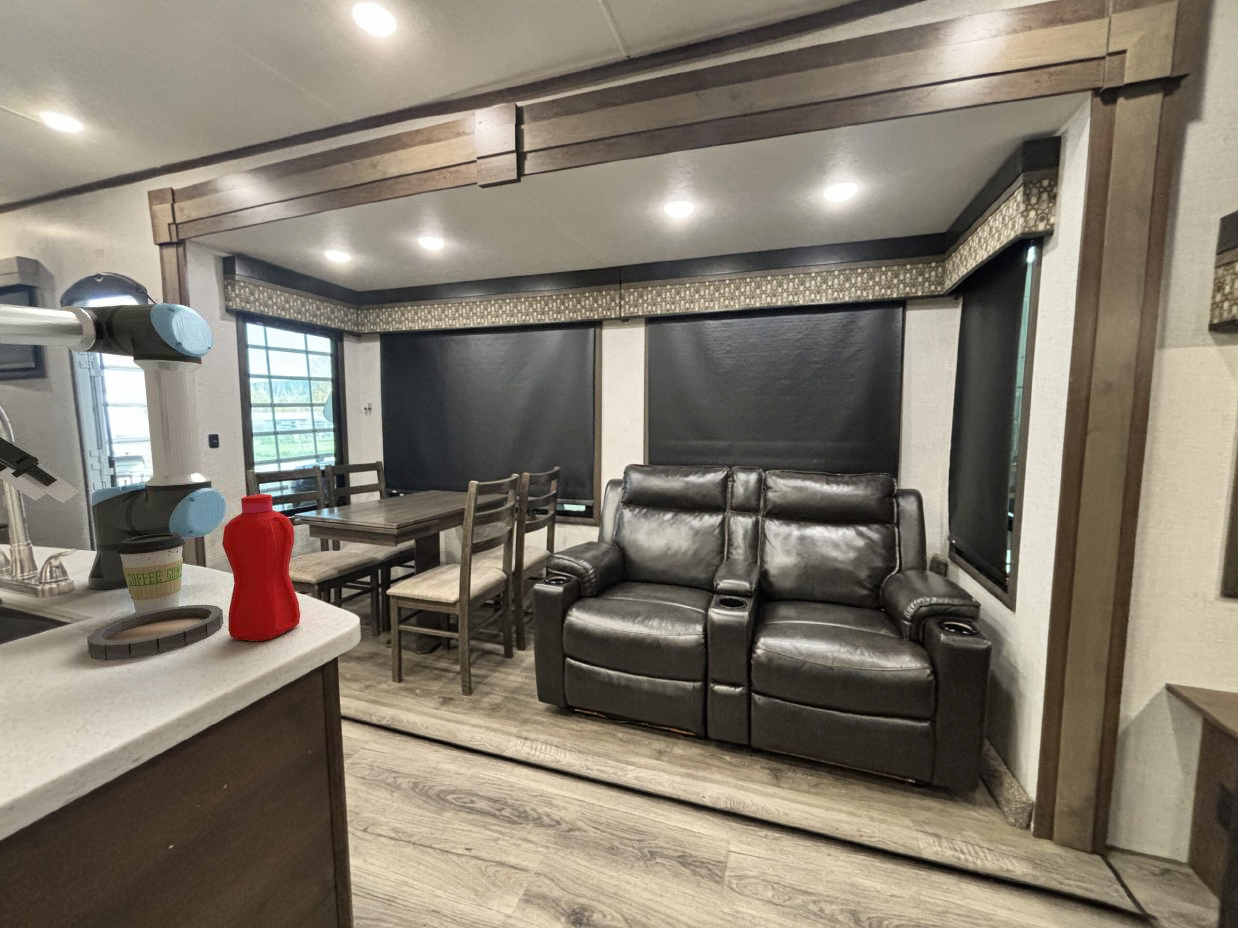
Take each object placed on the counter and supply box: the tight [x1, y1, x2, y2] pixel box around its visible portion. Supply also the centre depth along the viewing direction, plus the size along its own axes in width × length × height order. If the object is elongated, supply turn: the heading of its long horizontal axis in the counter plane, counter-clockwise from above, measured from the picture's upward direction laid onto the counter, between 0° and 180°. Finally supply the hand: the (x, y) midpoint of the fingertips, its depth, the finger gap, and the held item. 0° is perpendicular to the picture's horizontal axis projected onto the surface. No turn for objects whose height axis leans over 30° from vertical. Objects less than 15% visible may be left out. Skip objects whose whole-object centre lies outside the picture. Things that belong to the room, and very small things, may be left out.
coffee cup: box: [117, 533, 186, 615], centre depth 97 cm, size 10×10×15 cm
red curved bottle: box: [221, 493, 301, 642], centre depth 86 cm, size 9×11×25 cm
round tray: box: [86, 604, 224, 661], centre depth 86 cm, size 17×17×2 cm
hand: (57, 496), depth 85 cm, fingers open, 13 cm apart
